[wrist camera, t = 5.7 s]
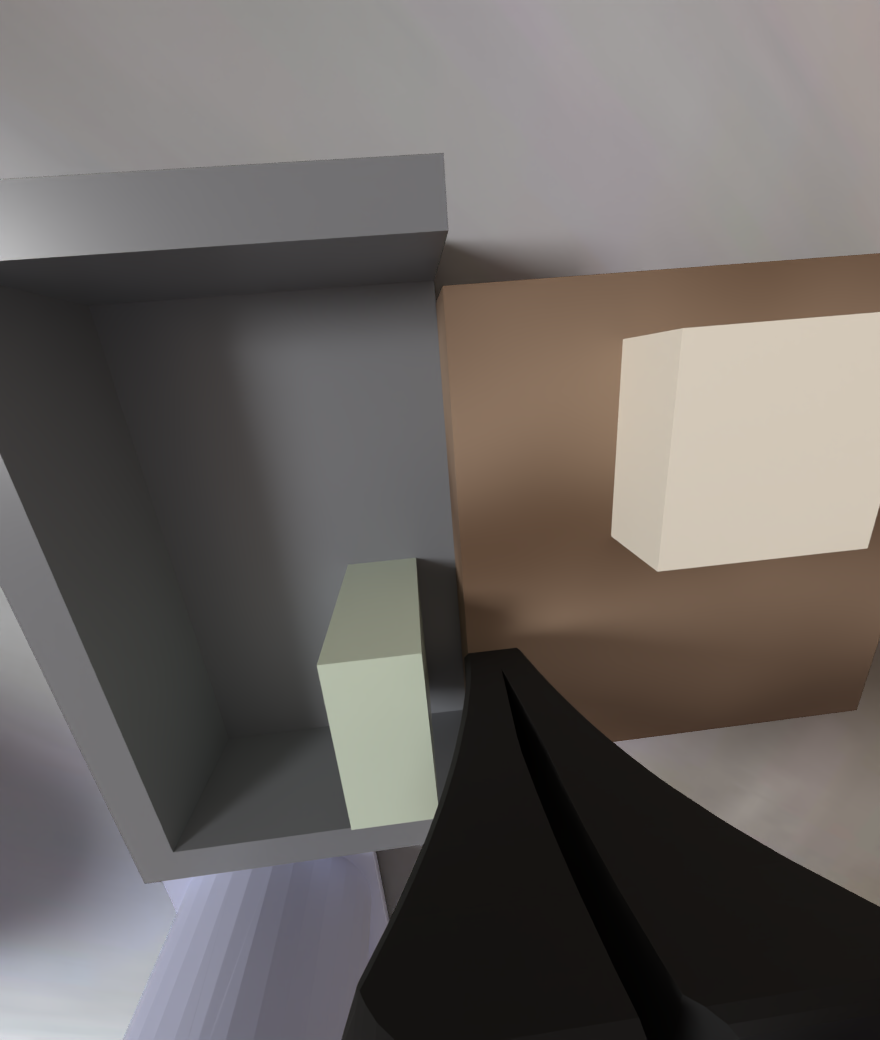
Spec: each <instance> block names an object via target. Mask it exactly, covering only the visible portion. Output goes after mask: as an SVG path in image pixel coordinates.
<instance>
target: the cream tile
mask: <svg viewBox="0 0 880 1040" xmlns="http://www.w3.org/2000/svg"><path fill="white" fill-rule="evenodd" d="M879 506H880V312H875V313H863V314H850V315H838V316H826V317H814V318H802V319H789V320H777V321H765V322H753V323H740V324H728V325H716V326H704V327H692V328H681V329H676V330H670V331H665V332H660V333H654V334H649V335H643V336H638V337H632V338H627V339H623V346H622V363H621V379H620V396H619V412H618V429H617V445H616V462H615V478H614V495H613V512H612V528H611V537H613V538H614V539H615V540H617V541H618V542H619V543H621V544H622V545H623V546H625V547H626V548H627V549H628V550H630V551H631V552H632V553H634V554H635V555H636V556H638V557H639V558H640V559H642V560H643V561H644V562H646V563H647V564H648V565H649V566H651V567H652V568H653V569H655V570H656V571H657V572H659V571H668V570H677V569H686V568H695V567H704V566H713V565H722V564H731V563H740V562H749V561H758V560H767V559H776V558H785V557H794V556H803V555H812V554H821V553H830V552H839V551H848V550H857V549H866V548H868V545H869V541H870V538H871V534H872V531H873V527H874V524H875V520H876V517H877V513H878V510H879Z"/></svg>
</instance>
